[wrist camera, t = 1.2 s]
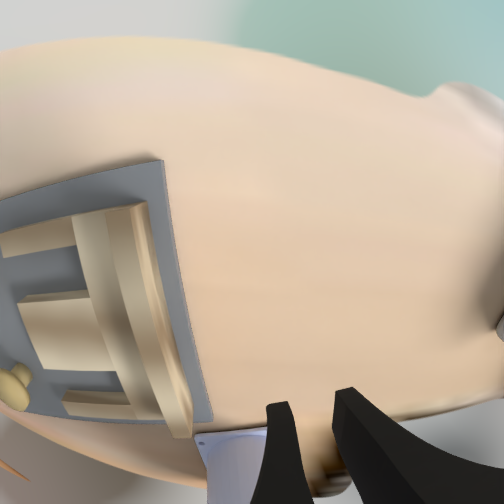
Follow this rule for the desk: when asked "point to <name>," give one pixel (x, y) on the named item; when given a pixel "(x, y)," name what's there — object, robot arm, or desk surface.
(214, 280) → the desk surface
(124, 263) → the panel
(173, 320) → the keyhole board
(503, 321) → the digital clock
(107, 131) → the desk surface
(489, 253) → the desk surface
